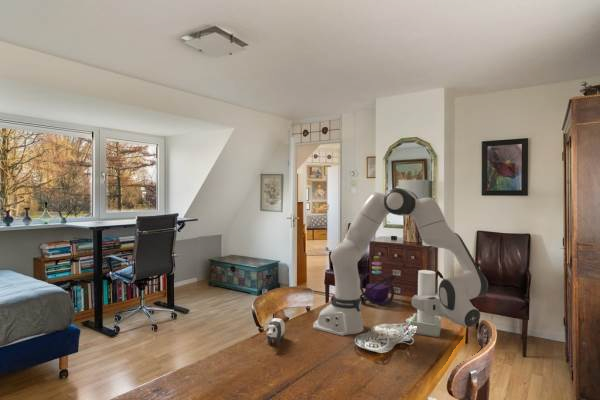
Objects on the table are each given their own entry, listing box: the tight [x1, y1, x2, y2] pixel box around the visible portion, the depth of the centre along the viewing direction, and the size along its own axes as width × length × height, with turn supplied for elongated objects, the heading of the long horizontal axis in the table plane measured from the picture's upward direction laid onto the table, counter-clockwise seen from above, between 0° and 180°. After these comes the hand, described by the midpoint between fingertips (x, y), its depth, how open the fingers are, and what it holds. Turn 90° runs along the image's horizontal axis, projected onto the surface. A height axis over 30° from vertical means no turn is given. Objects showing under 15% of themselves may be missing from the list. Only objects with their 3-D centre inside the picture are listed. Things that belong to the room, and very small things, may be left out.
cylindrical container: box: [416, 269, 437, 324], centre depth 161 cm, size 7×7×25 cm
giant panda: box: [266, 317, 286, 347], centre depth 148 cm, size 15×6×10 cm, turn 169°
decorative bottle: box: [360, 255, 396, 306], centre depth 203 cm, size 22×21×25 cm
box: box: [409, 312, 442, 338], centre depth 162 cm, size 12×12×5 cm
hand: (424, 295), depth 162 cm, fingers open, 8 cm apart
